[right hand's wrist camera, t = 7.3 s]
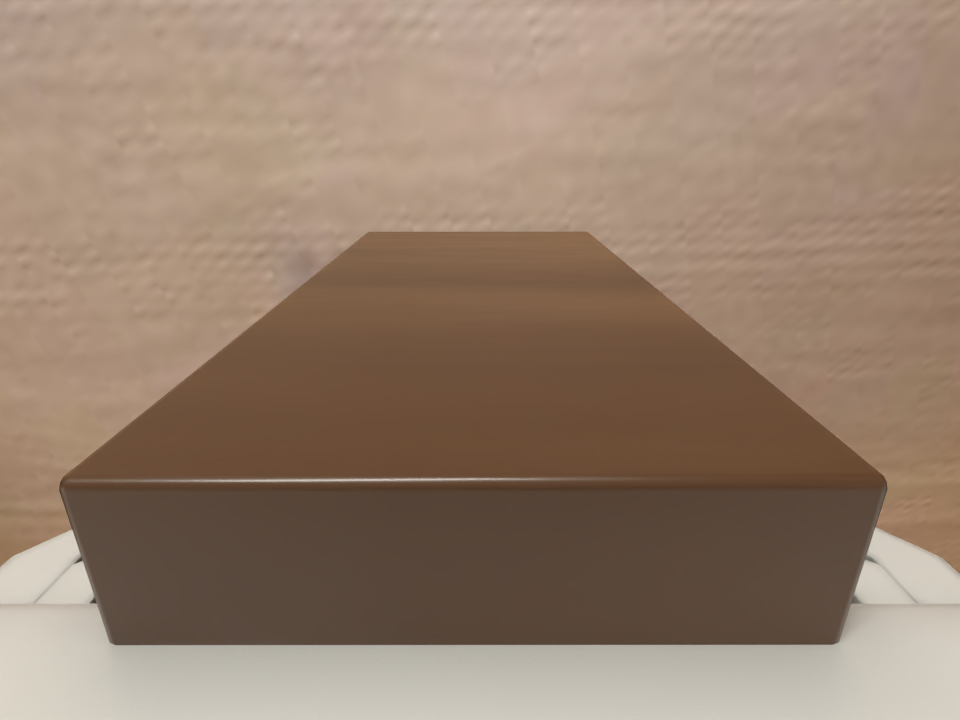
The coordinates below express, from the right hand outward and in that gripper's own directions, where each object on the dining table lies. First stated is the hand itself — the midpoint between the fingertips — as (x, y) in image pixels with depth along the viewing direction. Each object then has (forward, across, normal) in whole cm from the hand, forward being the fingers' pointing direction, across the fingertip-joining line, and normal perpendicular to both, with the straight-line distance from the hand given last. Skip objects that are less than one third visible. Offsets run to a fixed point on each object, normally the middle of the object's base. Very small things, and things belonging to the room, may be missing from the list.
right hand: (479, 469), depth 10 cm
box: (+6, 0, -7) cm, 9 cm away
